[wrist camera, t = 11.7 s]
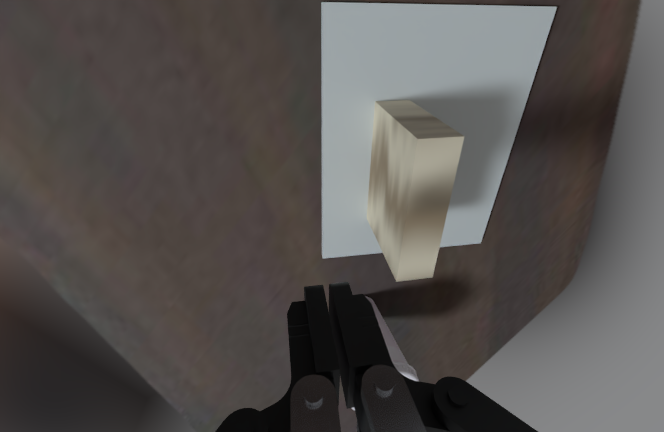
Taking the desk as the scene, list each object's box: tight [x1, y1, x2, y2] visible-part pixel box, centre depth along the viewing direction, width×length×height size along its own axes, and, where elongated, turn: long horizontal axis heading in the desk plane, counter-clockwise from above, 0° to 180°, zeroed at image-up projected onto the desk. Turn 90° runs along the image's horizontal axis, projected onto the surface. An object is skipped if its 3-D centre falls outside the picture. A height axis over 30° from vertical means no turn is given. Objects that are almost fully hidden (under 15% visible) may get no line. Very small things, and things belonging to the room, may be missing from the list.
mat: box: [321, 2, 557, 258], centre depth 27 cm, size 20×16×1 cm
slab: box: [367, 100, 464, 282], centre depth 23 cm, size 10×3×8 cm, turn 0°
